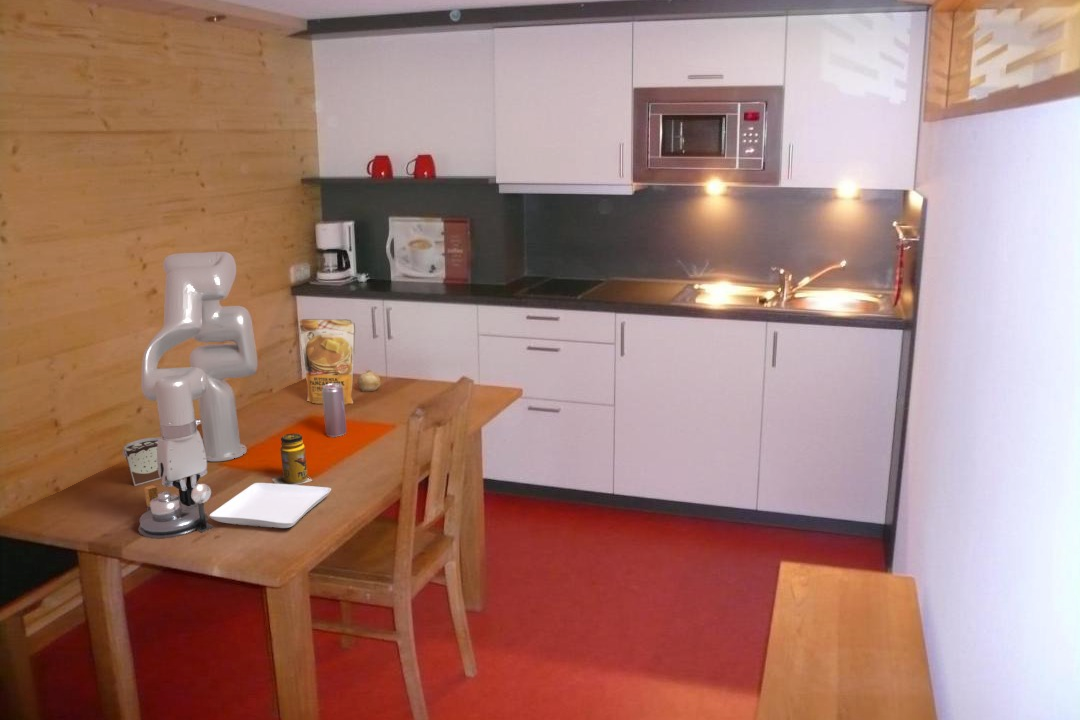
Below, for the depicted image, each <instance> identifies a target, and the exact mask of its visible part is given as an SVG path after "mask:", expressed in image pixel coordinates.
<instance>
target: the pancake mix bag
mask: <svg viewBox="0 0 1080 720" xmlns="http://www.w3.org/2000/svg"><path fill="white" fill-rule="evenodd" d="M297 324H298V325H297V326H298V331H299V333H298V334H299V339H300V344H301V345H300V346H301V354H302V362H303V365H304V372H305V379H306V383H307V384H306V385H307V400H306V402H307V401H309V402H308V403H311V402H312V403H315V405H323V395H322V389H323V388H322V387H323V386H324V385H326V384H332V383H338V384H341V385H342V388H343V396H344V406H347V405H351V404H354V401H353V398H352V389H353V374H354V363H355V358H354V357H355V343H356V342H355V340H356V337H355V336H356V324H355V322H352V320H351V319H344V318H343V319H331V318H303V319H302V318H301V319H300V320H298V321H297ZM312 403H311V404H312Z"/></svg>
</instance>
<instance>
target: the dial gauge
mask: <svg viewBox="0 0 1080 720" xmlns="http://www.w3.org/2000/svg"><path fill="white" fill-rule="evenodd" d="M211 494H212V490H211V488H210V486H209V485H207V484H206V483H198V484H196V486H195V487H194V488H193V490H192V492H191V498H192V500H193V501H194V502H195V503H197V504H198V509H199V517H200V524H201V525H198V526H195V527H194V528H196V531H197V530H198V531H197V532H199V533H201V532H202V533H205V532H206V530H207V531H210V530H212V528H213V529H214V525H212V524H210V523H209V522H207V523H206V519H205V513H206V512H205V511H206V510H205V511H204V509H205V504H204V503H206V502H208V501H209V499H210V498H211ZM209 529H210V530H209Z"/></svg>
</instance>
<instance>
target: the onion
mask: <svg viewBox="0 0 1080 720" xmlns="http://www.w3.org/2000/svg"><path fill="white" fill-rule="evenodd" d="M364 370H365V371H366V372H363V373H362V374H360V375H359V376H358V378H357V381H356V382H357V386H358V388H359V389H360V390H361V391H362V392H363V393H367V392H368V393H371V392H375V391H376V390H378V389H379V388H380V387H381V378H380V376H379V375H378V374H377V373H376V372H374V371H373V370H371V369H368V370H367V369H364Z"/></svg>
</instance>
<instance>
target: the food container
mask: <svg viewBox="0 0 1080 720" xmlns="http://www.w3.org/2000/svg"><path fill="white" fill-rule="evenodd" d="M160 437H161V436H158V437H148V438H141V439H137V440H134V441H131V442H128V443H127V444H126V445H125V446H124V447H123V450H122V457H123V459H126V463H127V466H128V470H129V473H130V477H131V481H132V485H133V486H134V487H135V486H139V485H143V484H146V483H151V482H153V481H157V480H160V479H161V480H162V478H161V477H159V474H158V464H157V445H158V438H160Z"/></svg>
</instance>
